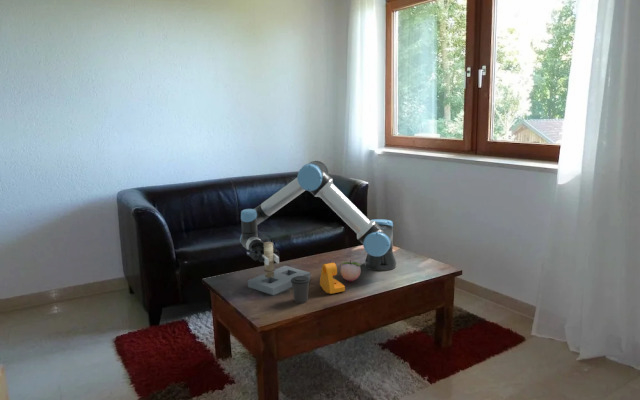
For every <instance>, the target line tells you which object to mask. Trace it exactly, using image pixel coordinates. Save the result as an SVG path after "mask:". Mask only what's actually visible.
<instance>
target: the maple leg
mask: <svg viewBox="0 0 640 400" xmlns="http://www.w3.org/2000/svg"><path fill="white" fill-rule="evenodd" d="M273 246H274V242H272V241H265V242H264V255H265V256H266V257H267V258H268V259H269V265H266V264H265V263H264V274H265V277H267V278H271V277H274V270H275V264H274V263H275V261H274V258H273Z"/></svg>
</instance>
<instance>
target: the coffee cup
mask: <svg viewBox="0 0 640 400" xmlns="http://www.w3.org/2000/svg"><path fill="white" fill-rule="evenodd" d="M291 282H292V287H291V288H292V292H293V299H294V300H293V301H294V302H295V303H296V304H306V303H307V302H308V300H309V290H310V289H309V288H310V282H311V279H310V278H309V277H306V276H296V277H293V278H292V279H291Z"/></svg>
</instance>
